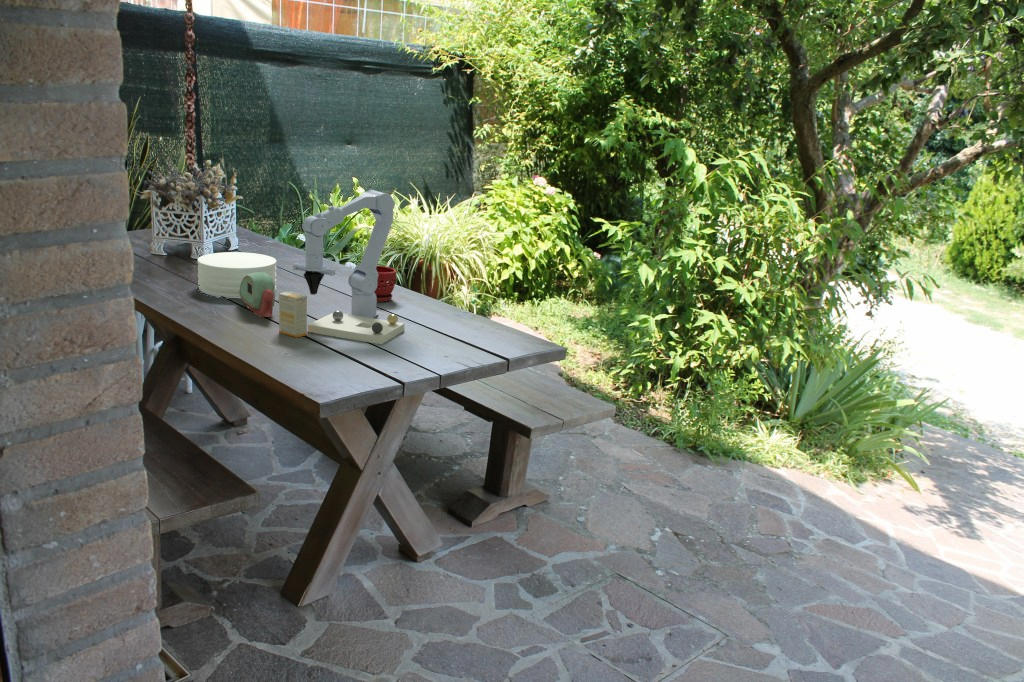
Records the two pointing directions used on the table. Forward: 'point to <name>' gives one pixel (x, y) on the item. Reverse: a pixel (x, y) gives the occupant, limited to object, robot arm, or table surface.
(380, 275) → the plant pot
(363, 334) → the hole plate
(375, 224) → the robot arm
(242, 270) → the plate stack
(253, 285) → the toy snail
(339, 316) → the steel ball
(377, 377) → the table surface
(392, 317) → the brass ball
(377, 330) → the black rubber ball
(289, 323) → the supplement box
